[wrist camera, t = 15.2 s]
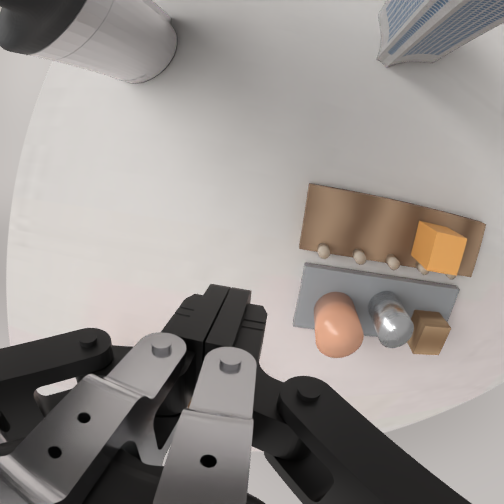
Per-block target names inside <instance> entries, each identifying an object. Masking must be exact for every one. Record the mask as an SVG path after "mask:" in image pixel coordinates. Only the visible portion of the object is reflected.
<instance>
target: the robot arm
mask: <svg viewBox="0 0 504 504" xmlns="http://www.w3.org/2000/svg"><path fill="white" fill-rule="evenodd" d="M0 6H1V7H2V9H1V12H0V46H1V47H2V48H3V49H5V50H7V51H10V52H15V53H20V54H26V55H30V56H35V57H40V58H44V59H49V60H53V61H57V62H61V63H65V64H69V65H72V66H76V67H80V68H83V69H87V70H90V71H94V72H97V73H100V74H104V75H107V76H110V77H113V78H115V79H118V80H121V81H126V82H129V83H140V82H145V81H147V80H150V79H152V78H153V77H155V76H157V75H158V74H159V73H160V72H162V71H163V70H164V69H165V68H166V66H167V65H168V64H169V63H170V61H171V59H172V58H173V56H174V53H175V51H176V46H177V36H176V33H175V30H174V29H173V27H172V26H171V24H170V21H171V17H170V16H169V15H168V14H167V13H166V12H164V11H163V10H162V9H161V8H160V7H159V6H158V5H157V4H156V3H155V2H153V1H152V0H0ZM250 300H251V291H250V290H244V289H238V288H233V287H232V288H230V287H226V286H221V285H215V284H210V286H209V287H208V289H207V290H206V292H205V294H204V295H198V294H194V295H192V296H190V297H188V298H186V299H185V300H184V301H183V303H182V304H181V305H180V307H179V308H178V309H177V311H176V312H175V314H174V315H173V316H172V318H171V319H170V320H169V322H168V323H167V324H166V326H165V327H164V329H163V330H162V331H161V332H160V333H152V334H149V335H147V336H145V337H143V338H142V339H141V340H140V341H139V342H138V343H137V344H136V345H135V346H134V347H127V346H113V345H112V343H111V338H110V336H109V335H108V333H106V332H105V331H103V330H100V329H97V328H85V329H80V330H76V331H72V332H68V333H64V334H60V335H56V336H52V337H48V338H44V339H40V340H36V341H32V342H28V343H23V344H19V345H15V346H10V347H7V348H2V349H0V504H265V503H264V502H262V501H261V500H259V499H257V498H256V497H254V496H252V495H250V494H248V493H247V489H248V478H249V468H250V457H251V446H253V447H255V448H257V449H259V450H262V451H264V455H265V457H266V459H267V461H268V462H269V463H270V464H271V466H272V467H273V468H274V469H275V471H276V472H277V473H278V474H279V476H280V477H281V478H282V479H283V481H284V482H285V483H286V484H287V486H288V487H289V488H290V489H291V490H292V491H293V493H294V494H295V495H296V496H297V497H298V498H299V500H300V501H301V502H302V503H303V504H471V503H470V502H469V501H467V500H466V499H465V498H463V497H462V496H460V495H459V494H458V493H456V492H455V491H454V490H453V489H451V488H450V487H449V486H448V485H446V484H445V483H444V482H442V481H441V480H440V479H438V478H437V477H436V476H435V475H433V474H432V473H431V472H430V471H428V470H427V469H426V468H424V467H423V466H422V465H421V464H420V463H418V462H417V461H416V460H415V459H413V458H412V457H411V456H410V455H409V454H407V453H406V452H405V451H404V450H403V449H401V448H400V447H399V446H398V445H396V444H395V443H394V442H393V441H392V440H390V439H389V438H388V437H387V436H386V435H384V433H382V432H381V431H380V430H379V429H378V428H376V427H375V426H374V425H373V424H372V423H371V422H370V421H368V420H367V419H366V418H365V417H364V416H363V415H362V414H360V413H359V412H358V411H357V410H356V409H355V408H354V407H352V406H351V405H350V404H349V403H348V402H347V401H346V400H345V399H343V398H342V397H341V396H340V395H339V394H338V393H337V392H336V391H335V390H333V389H332V388H331V387H330V386H329V385H328V384H327V383H325V382H324V381H322V380H320V379H317V378H314V377H310V376H297V377H293V378H291V379H288V380H287V381H285V382H281V381H279V380H276V379H274V378H272V377H270V376H269V375H267V374H266V373H265V372H264V371H263V370H262V368H261V367H260V365H259V359H260V354H261V349H262V343H263V337H264V331H265V325H266V319H267V313H266V311H265V309H264V307H263V306H260V305H254V304H250ZM74 377H76V380H77V383H78V384H77V385H76V386H75V387H74V388H73V389H70V390H67V391H63V392H60V393H56V394H52V395H49V396H43V395H40V394H39V393H38V392H37V391H36V389H37V388H39V387H41V386H45V385H49V384H52V383H56V382H60V381H63V380H67V379H70V378H74ZM192 396H193V397H192ZM191 398H192V400H191ZM190 400H191V403H190ZM189 403H190V406H189V408H188V405H189ZM169 447H170V449H169ZM168 449H169V453H168V456H167V459H166V462H165V465H164V466H162V463H163V460H164V457H165V455H166V453H167V451H168Z"/></svg>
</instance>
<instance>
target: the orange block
mask: <svg viewBox="0 0 504 504" xmlns="http://www.w3.org/2000/svg"><path fill="white" fill-rule="evenodd" d="M466 242H467V238H465V237H463V236H462V235H460V234H458V233H457V232H455V231H453V230H451V229H450V228H448V227H444V226H440V225H436V224H432V223H427V222H423V221H419V224H418V228H417V232H416V236H415V240H414V244H413V248H412V252H411V256H412V257H414V258H415V259H416V260H417V261H418V262H419V263H420V264H421V265H422V266H423V267H424V268H425V269H426V270H427V271H432V272H438V273H444V274H450V275H456V276H457V273H458V270H459V267H460V263H461V260H462V257H463V253H464V250H465V246H466Z"/></svg>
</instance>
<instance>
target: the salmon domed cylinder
mask: <svg viewBox="0 0 504 504" xmlns="http://www.w3.org/2000/svg"><path fill="white" fill-rule="evenodd" d="M314 324H315V337H316V345H317V348H318V349H319V351H320V352H321V353H323V354H324V355H326V356H328V357H332V358H341V357H346V356H348V355H350V354H352V353H354V352H355V351H356V350H357V349H358V348H359V347H360V345H361V344H362V341H363V337H364V336H363V330H362V327H361V324H360V321H359V318H358V315H357V312H356V309H355V306H354V303H353V301H352V299H351V298H350V297H349V296H348V295H346V294H344V293H341V292H330V293H327V294H325V295H323V296H322V297H321V298H319V299H318V301H317V302H316V304H315V306H314Z"/></svg>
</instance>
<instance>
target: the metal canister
mask: <svg viewBox="0 0 504 504" xmlns="http://www.w3.org/2000/svg"><path fill="white" fill-rule="evenodd" d="M368 312H369V314H370V317H371V319H372V322H373V325H374V327H375V330H376V332H377V335H378V337H379V340H380V342H381V344H382V345H384V346H385V347H388V348H396V347H399V346H402V345H403V344H405V343H406V342H407V341H408V340H409V339H410V338H411V336H412V334H413V331H414V325H413V322H412V321H411V319H410V317H409V316H408V314H407V312H406V311H405V309H404V307H403V306H402V304H401V302H400V301H399V299H398V298H397V296H396V295H395V294H394V293H393V292H390V291H382V292H379V293H377V294H375V295H374V296H373V297H372V298H371V300H370V302H369V304H368Z"/></svg>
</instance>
